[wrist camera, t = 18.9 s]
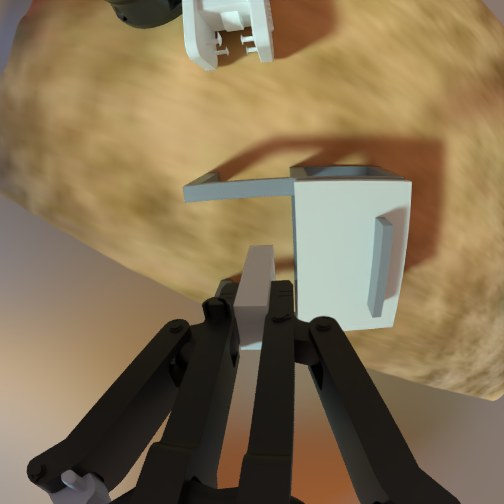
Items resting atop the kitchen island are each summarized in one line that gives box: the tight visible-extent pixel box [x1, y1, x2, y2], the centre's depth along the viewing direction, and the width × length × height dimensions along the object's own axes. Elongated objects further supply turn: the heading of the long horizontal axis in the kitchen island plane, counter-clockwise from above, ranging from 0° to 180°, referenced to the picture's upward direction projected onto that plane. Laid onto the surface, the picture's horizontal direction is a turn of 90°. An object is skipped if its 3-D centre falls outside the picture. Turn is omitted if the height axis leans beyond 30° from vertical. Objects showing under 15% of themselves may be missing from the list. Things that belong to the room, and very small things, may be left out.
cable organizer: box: [182, 0, 274, 71], centre depth 28 cm, size 15×11×12 cm
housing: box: [183, 166, 405, 318], centre depth 41 cm, size 21×27×11 cm
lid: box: [294, 179, 412, 331], centre depth 32 cm, size 21×14×4 cm
